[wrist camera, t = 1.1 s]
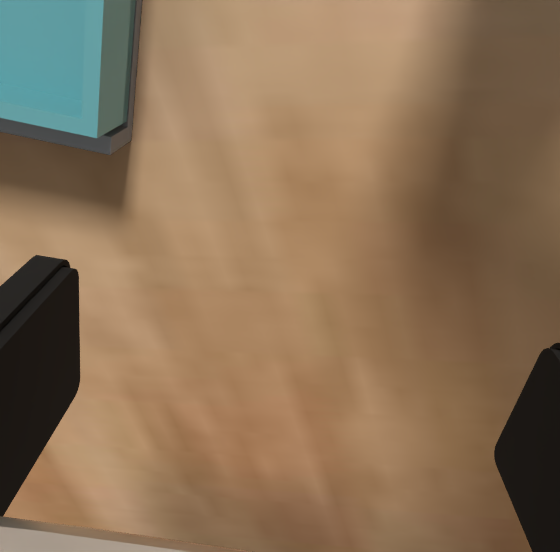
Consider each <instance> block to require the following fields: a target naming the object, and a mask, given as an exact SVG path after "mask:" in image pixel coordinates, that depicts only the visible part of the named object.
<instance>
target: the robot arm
mask: <svg viewBox="0 0 560 552" xmlns="http://www.w3.org/2000/svg"><path fill="white" fill-rule="evenodd" d="M79 383H80V337H79V276H78V271H77V270H76V269H73V268H70V265H69V262H68V261H67V260H63V259H57V258H51V257H45V256H40V255H36V256H34V257H33V258H31V259H30V260H29V261H28V262H27V263H26V264H25V265H24V266H23V267H21V268H20V269H19V270H18V271H17V272H16V273H15V274H14V275H13V276H11V277H10V278H9V279H8V280H7V281H6V282H5V283H4V284H2V285H1V286H0V552H253V551H246V550H239V549H232V548H225V547H218V546H211V545H204V544H197V543H191V542H184V541H177V540H170V539H163V538H156V537H149V536H142V535H135V534H128V533H122V532H115V531H108V530H101V529H94V528H87V527H79V526H72V525H64V524H56V523H48V522H40V521H33V520H25V519H17V518H9V517H3V515H4V514H5V512H6V510H7V509H8V507H9V505H10V504H11V502H12V500H13V499H14V497H15V495H16V494H17V492H18V490H19V489H20V487H21V485H22V484H23V482H24V480H25V479H26V477H27V475H28V474H29V472H30V470H31V469H32V467H33V465H34V464H35V462H36V460H37V459H38V457H39V455H40V454H41V452H42V450H43V449H44V447H45V446H46V444H47V442H48V441H49V439H50V437H51V436H52V434H53V432H54V431H55V429H56V427H57V426H58V424H59V422H60V421H61V419H62V417H63V416H64V414H65V412H66V411H67V409H68V407H69V406H70V404H71V402H72V401H73V399H74V397H75V395H76V393H77V391H78V387H79ZM494 457H495V462H496V465H497V468H498V470H499V473H500V475H501V477H502V480H503V482H504V485H505V487H506V489H507V492H508V494H509V497H510V499H511V501H512V504H513V506H514V508H515V511H516V513H517V516H518V518H519V520H520V523H521V525H522V528H523V530H524V532H525V535H526V537H527V540H528V542H529V544H530V547H531V549H532V552H560V343H556V344H554V345H552V346H551V347H550V349H549V348H546V349H544V350H543V351H542V352H541V354H540V355H539V357H538V359H537V361H536V363H535V366H534V368H533V370H532V372H531V374H530V376H529V378H528V380H527V382H526V384H525V386H524V388H523V390H522V392H521V394H520V396H519V398H518V400H517V403H516V405H515V407H514V409H513V411H512V413H511V415H510V417H509V419H508V421H507V423H506V425H505V427H504V429H503V431H502V433H501V435H500V437H499V439H498V442H497V444H496V446H495V451H494Z"/></svg>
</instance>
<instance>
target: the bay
mask: <svg viewBox="0 0 560 552" xmlns="http://www.w3.org/2000/svg"><path fill="white" fill-rule="evenodd" d="M141 9H142V0H135V14H134V28H133V41H132V55H131V69H130V82H129V96H128V110H127V122H125V123H123V124H121V125H120V126H118V127H116V128H114V129H112V130H111V131H109V132H107V133H105V134H104V135H102V136H100V137H98V138H93V137H89V136H84V135H79V134H74V133H70V132H65V131H60V130H56V129H51V128H46V127H42V126H37V125H32V124H27V123H23V122H18V121H13V120H9V119H4V118H0V132H4V133H8V134H13V135H18V136H23V137H27V138H32V139H37V140H41V141H46V142H51V143H56V144H60V145H65V146H70V147H75V148H79V149H84V150H89V151H94V152H98V153H103V154H108V155H111V154H112V153H114V152H115V151H117V150H118V149H120V148H121V147H122V146H124V145H125V144H127V143H128V142H130V141H131V137H132V124H133V111H134V98H135V86H136V73H137V60H138V47H139V35H140V22H141Z"/></svg>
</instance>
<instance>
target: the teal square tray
mask: <svg viewBox="0 0 560 552" xmlns="http://www.w3.org/2000/svg"><path fill="white" fill-rule="evenodd" d="M134 14H135V0H0V118H4V119H9V120H13V121H18V122H23V123H27V124H32V125H37V126H42V127H46V128H51V129H56V130H60V131H65V132H70V133H74V134H79V135H84V136H89V137H93V138H98V137H100V136H102V135H104V134H105V133H107V132H109V131H111V130H112V129H114V128H116V127H118V126H120V125H121V124H123V123H125V122H127V110H128V96H129V82H130V69H131V55H132V41H133V28H134Z"/></svg>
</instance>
